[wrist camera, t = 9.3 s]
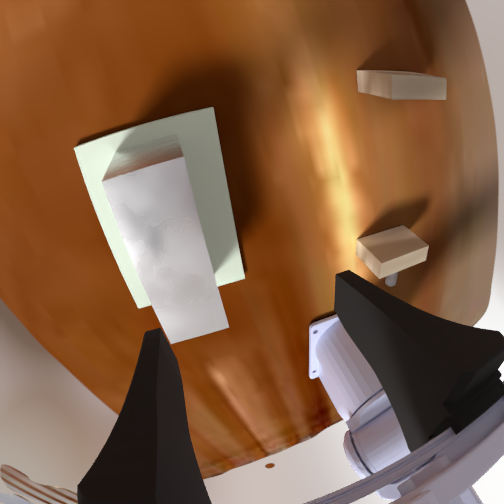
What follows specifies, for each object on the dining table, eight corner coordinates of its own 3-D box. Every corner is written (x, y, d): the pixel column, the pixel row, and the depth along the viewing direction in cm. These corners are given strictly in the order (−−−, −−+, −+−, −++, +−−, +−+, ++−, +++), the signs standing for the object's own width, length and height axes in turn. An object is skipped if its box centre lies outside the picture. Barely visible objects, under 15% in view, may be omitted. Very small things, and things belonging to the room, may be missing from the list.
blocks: (397, 260, 27) (420, 282, 24) (353, 276, 27) (375, 301, 24) (411, 71, 18) (446, 78, 15) (356, 70, 17) (391, 74, 14)
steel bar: (212, 275, 22) (229, 327, 18) (164, 289, 21) (171, 343, 17) (176, 133, 16) (184, 156, 12) (115, 152, 15) (101, 181, 11)
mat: (243, 275, 23) (244, 278, 23) (138, 304, 22) (138, 308, 21) (212, 106, 16) (213, 107, 16) (75, 146, 15) (74, 148, 14)
